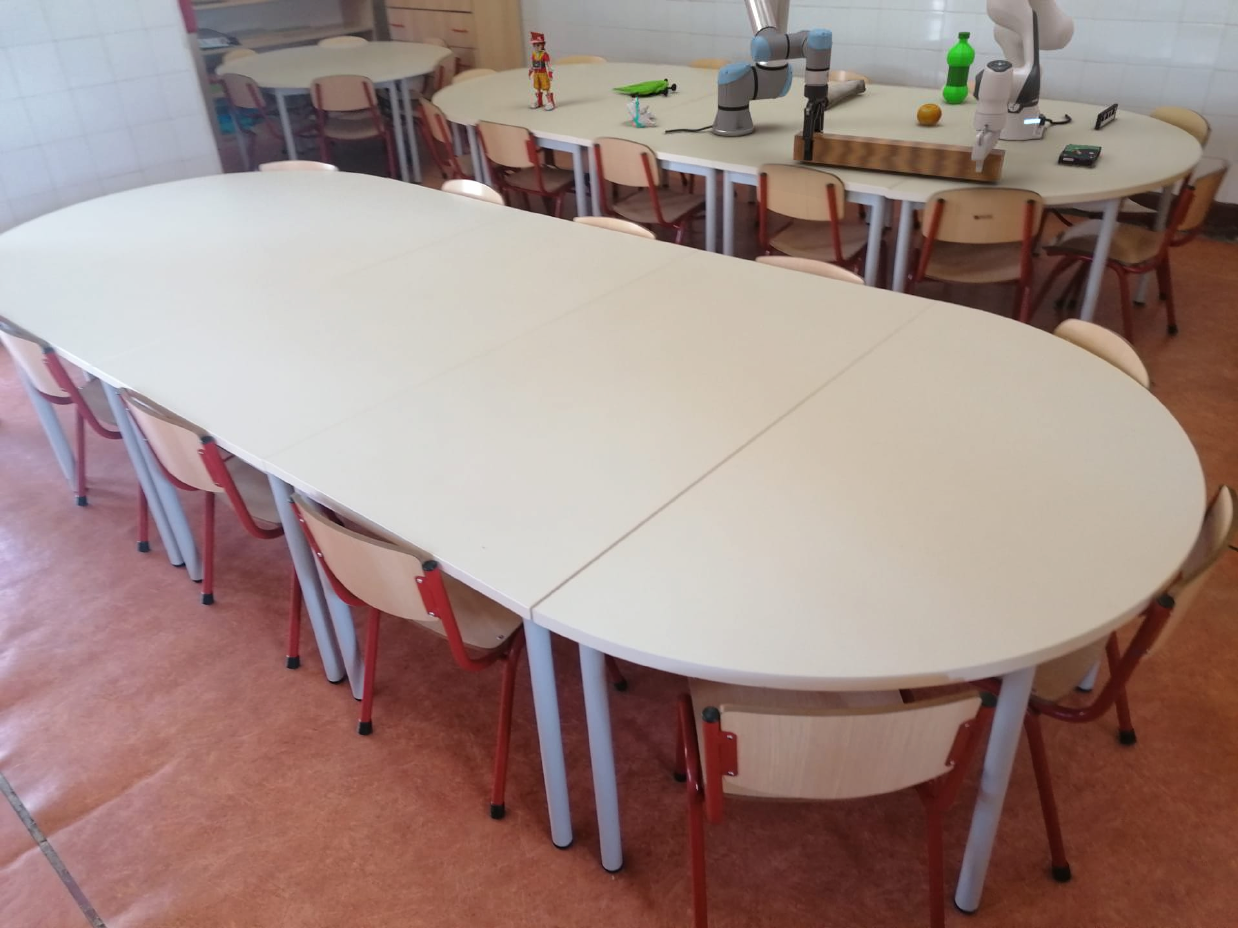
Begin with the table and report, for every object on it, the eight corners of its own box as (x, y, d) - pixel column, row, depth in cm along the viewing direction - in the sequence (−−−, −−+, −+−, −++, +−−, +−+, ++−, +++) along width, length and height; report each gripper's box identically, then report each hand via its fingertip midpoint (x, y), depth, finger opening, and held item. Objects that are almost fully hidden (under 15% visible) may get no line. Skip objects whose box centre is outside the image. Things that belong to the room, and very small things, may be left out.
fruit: (911, 116, 327) (926, 96, 324) (913, 119, 335) (927, 100, 332) (931, 129, 325) (945, 109, 322) (931, 132, 333) (946, 112, 330)
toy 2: (686, 85, 398) (631, 84, 414) (685, 72, 395) (629, 72, 411) (651, 104, 381) (596, 103, 397) (650, 92, 378) (594, 91, 394)
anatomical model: (623, 97, 354) (648, 90, 354) (629, 123, 360) (653, 116, 359) (626, 106, 342) (652, 99, 341) (633, 133, 348) (658, 126, 347)
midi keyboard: (1098, 129, 313) (1101, 114, 311) (1094, 129, 314) (1098, 114, 311) (1114, 118, 324) (1118, 104, 321) (1111, 118, 325) (1114, 103, 322)
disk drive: (1092, 168, 280) (1100, 154, 290) (1094, 159, 278) (1102, 146, 288) (1057, 164, 285) (1065, 151, 295) (1059, 155, 283) (1067, 142, 293)
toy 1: (525, 109, 381) (517, 32, 364) (534, 104, 388) (527, 28, 371) (550, 110, 377) (543, 32, 360) (559, 105, 384) (553, 28, 367)
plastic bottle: (973, 101, 354) (984, 32, 339) (955, 106, 349) (966, 36, 335) (952, 97, 361) (962, 29, 346) (934, 102, 356) (944, 33, 342)
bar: (793, 160, 299) (794, 135, 294) (799, 155, 303) (800, 130, 298) (996, 182, 270) (1001, 155, 265) (1000, 176, 274) (1005, 149, 269)
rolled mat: (841, 83, 376) (857, 68, 368) (853, 102, 377) (870, 86, 369) (802, 102, 359) (819, 86, 351) (815, 121, 359) (832, 105, 351)
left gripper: (817, 91, 276) (812, 166, 290) (837, 78, 289) (831, 151, 303) (794, 89, 280) (790, 164, 293) (815, 76, 293) (810, 148, 306)
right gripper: (993, 131, 256) (984, 179, 264) (1007, 113, 270) (999, 159, 278) (970, 129, 259) (962, 177, 267) (986, 111, 273) (978, 157, 281)
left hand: (811, 157), depth 298 cm, fingers closed on bar, 6 cm apart
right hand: (981, 168), depth 273 cm, fingers closed on bar, 5 cm apart
